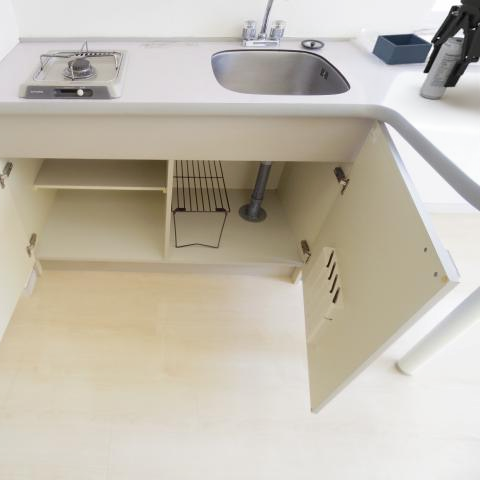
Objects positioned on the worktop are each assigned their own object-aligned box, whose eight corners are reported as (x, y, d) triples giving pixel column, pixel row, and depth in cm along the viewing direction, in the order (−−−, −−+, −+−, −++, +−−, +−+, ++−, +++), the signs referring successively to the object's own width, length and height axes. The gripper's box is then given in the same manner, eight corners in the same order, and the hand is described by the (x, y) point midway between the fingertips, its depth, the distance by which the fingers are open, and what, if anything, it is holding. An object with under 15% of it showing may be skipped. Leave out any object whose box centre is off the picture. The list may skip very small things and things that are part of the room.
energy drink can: (439, 92, 104) (468, 36, 94) (443, 100, 100) (475, 43, 90) (416, 90, 106) (443, 35, 95) (420, 98, 102) (448, 42, 91)
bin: (424, 62, 121) (433, 44, 117) (388, 64, 121) (395, 46, 117) (406, 50, 130) (413, 33, 125) (372, 52, 130) (378, 35, 126)
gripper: (444, -23, 92) (405, 66, 108) (503, -4, 76) (448, 96, 92) (472, -25, 92) (429, 64, 108) (538, -6, 76) (476, 94, 92)
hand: (438, 79), depth 100 cm, fingers open, 10 cm apart
